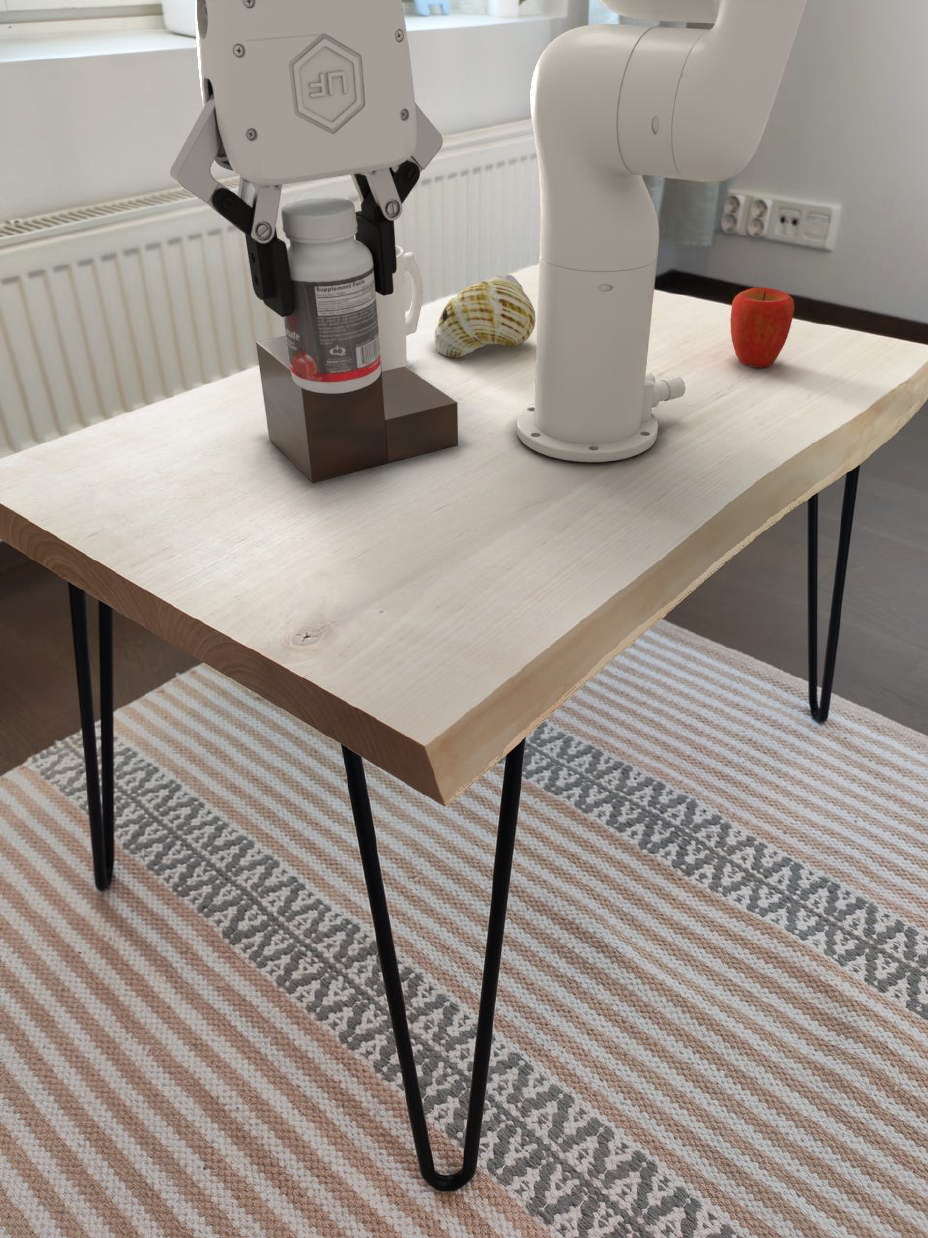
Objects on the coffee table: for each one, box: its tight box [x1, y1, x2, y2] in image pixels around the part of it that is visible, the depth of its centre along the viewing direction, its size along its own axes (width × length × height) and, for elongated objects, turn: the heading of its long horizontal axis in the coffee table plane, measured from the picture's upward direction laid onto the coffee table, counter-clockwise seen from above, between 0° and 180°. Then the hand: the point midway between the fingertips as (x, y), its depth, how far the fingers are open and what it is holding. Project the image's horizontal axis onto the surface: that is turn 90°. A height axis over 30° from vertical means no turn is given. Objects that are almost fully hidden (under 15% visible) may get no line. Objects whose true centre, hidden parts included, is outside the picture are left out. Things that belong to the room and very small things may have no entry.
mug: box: [375, 244, 424, 371], centre depth 99 cm, size 10×7×12 cm, turn 134°
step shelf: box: [255, 335, 459, 483], centre depth 85 cm, size 14×10×9 cm
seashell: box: [434, 273, 536, 358], centre depth 105 cm, size 10×10×10 cm
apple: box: [729, 286, 795, 369], centre depth 100 cm, size 6×6×8 cm
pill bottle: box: [280, 196, 381, 393], centre depth 56 cm, size 5×5×10 cm
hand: (328, 295), depth 56 cm, fingers closed on pill bottle, 5 cm apart
